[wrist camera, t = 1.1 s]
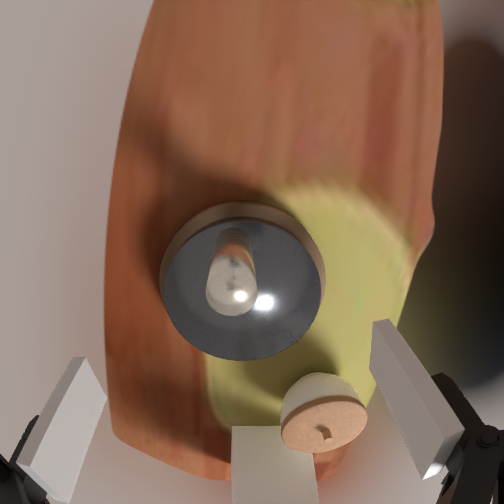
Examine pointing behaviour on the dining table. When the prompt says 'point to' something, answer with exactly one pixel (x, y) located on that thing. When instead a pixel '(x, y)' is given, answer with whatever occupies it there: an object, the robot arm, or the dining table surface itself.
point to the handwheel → (242, 289)
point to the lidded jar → (321, 413)
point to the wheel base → (235, 211)
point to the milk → (269, 469)
